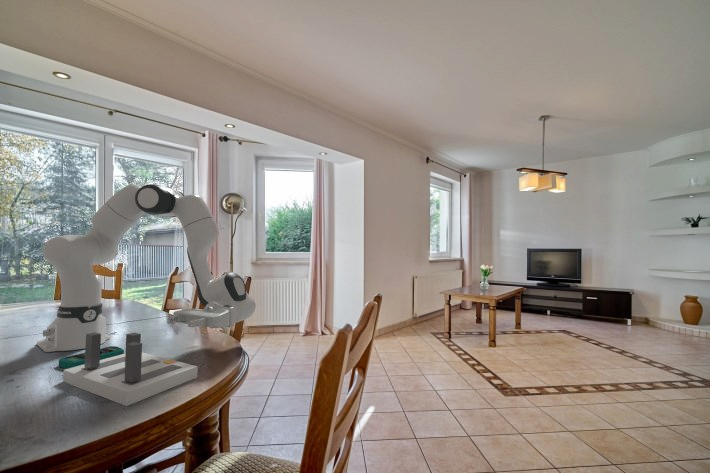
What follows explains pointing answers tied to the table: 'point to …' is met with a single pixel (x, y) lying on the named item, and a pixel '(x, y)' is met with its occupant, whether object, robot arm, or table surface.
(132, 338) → the post
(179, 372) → the box
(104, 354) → the digital multimeter
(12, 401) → the table surface
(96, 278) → the robot arm
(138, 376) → the handle
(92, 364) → the handle
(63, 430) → the table surface
